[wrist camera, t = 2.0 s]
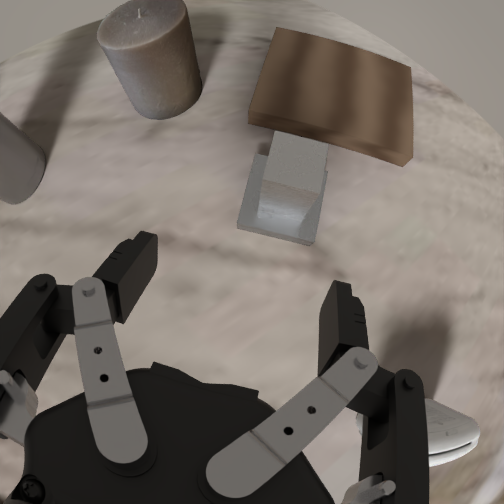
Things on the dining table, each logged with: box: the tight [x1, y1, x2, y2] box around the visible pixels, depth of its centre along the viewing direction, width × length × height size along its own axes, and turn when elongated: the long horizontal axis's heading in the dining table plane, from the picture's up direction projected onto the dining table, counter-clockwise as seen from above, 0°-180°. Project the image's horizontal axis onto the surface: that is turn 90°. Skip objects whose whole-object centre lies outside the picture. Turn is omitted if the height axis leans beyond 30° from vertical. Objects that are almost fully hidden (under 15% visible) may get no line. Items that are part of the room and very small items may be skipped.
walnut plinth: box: [248, 27, 413, 167], centre depth 36 cm, size 20×16×3 cm
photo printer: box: [356, 398, 480, 467], centre depth 25 cm, size 10×4×12 cm, turn 86°
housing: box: [237, 131, 329, 246], centre depth 29 cm, size 8×8×11 cm
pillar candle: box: [96, 0, 202, 120], centre depth 30 cm, size 10×10×15 cm
